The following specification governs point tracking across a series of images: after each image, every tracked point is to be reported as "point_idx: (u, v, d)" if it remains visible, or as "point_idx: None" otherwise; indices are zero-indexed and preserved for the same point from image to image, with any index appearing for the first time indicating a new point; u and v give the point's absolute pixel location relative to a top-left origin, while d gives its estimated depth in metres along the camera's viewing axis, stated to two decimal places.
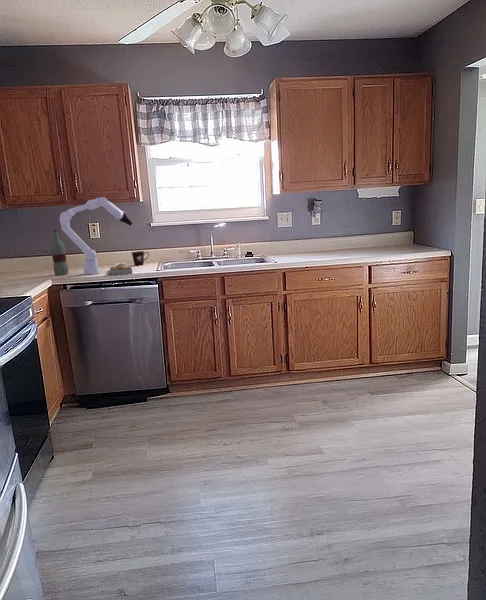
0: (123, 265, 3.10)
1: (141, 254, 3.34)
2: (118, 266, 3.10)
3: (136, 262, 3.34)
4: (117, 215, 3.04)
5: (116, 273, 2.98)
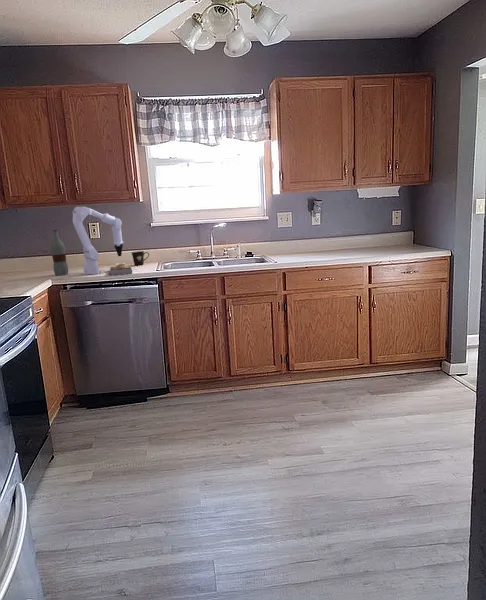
0: (123, 265, 3.10)
1: (141, 254, 3.34)
2: (118, 266, 3.10)
3: (136, 262, 3.34)
4: (116, 241, 3.16)
5: (116, 273, 2.98)
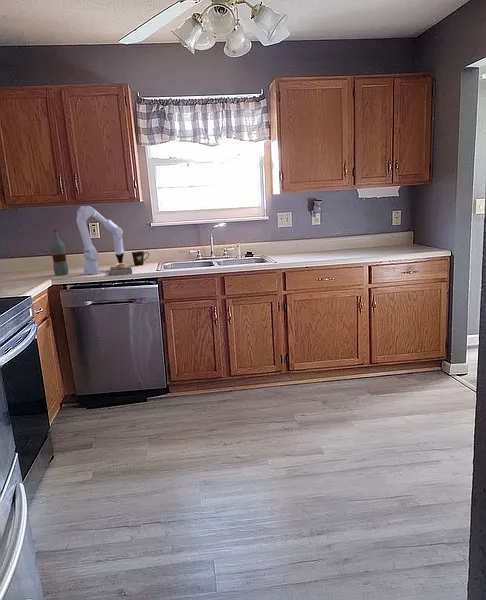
0: (123, 265, 3.10)
1: (141, 254, 3.34)
2: (118, 266, 3.10)
3: (136, 262, 3.34)
4: (117, 249, 3.17)
5: (116, 273, 2.98)
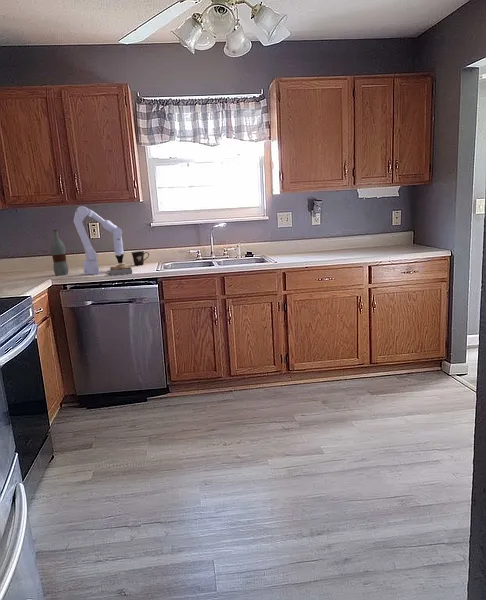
0: (123, 265, 3.10)
1: (141, 254, 3.34)
2: (118, 266, 3.10)
3: (136, 262, 3.34)
4: (117, 250, 3.12)
5: (116, 273, 2.98)
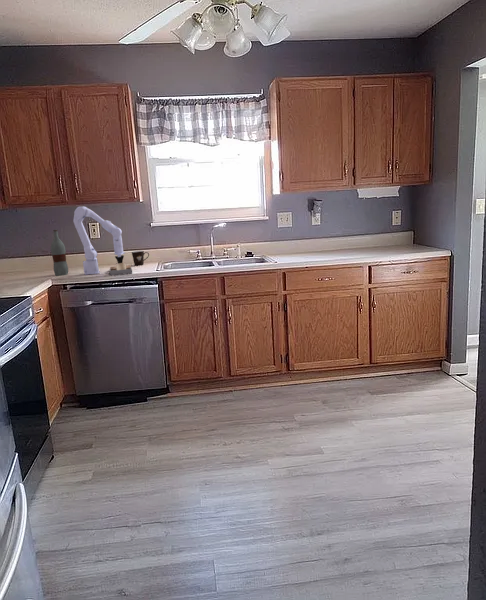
0: None
1: (141, 254, 3.34)
2: None
3: (136, 262, 3.34)
4: (117, 251, 3.05)
5: (116, 273, 2.98)
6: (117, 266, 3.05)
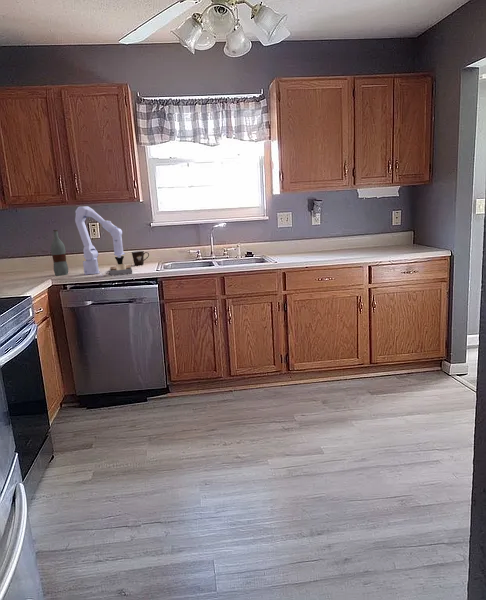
0: None
1: (141, 254, 3.34)
2: None
3: (136, 262, 3.34)
4: (117, 252, 3.01)
5: (116, 273, 2.98)
6: (117, 267, 3.01)
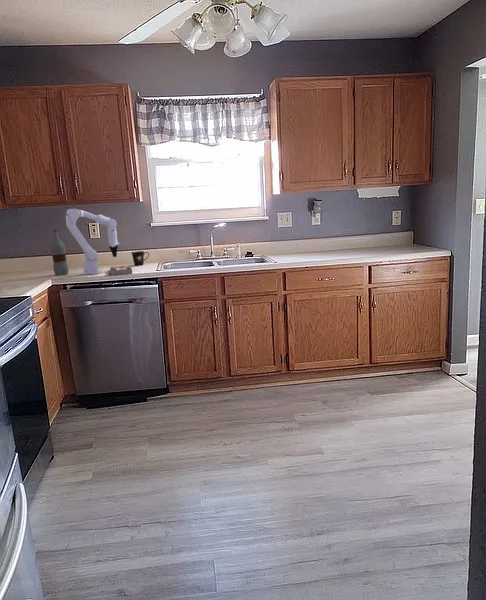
0: None
1: (141, 254, 3.34)
2: None
3: (136, 262, 3.34)
4: (111, 242, 3.11)
5: (116, 273, 2.98)
6: (117, 269, 3.04)
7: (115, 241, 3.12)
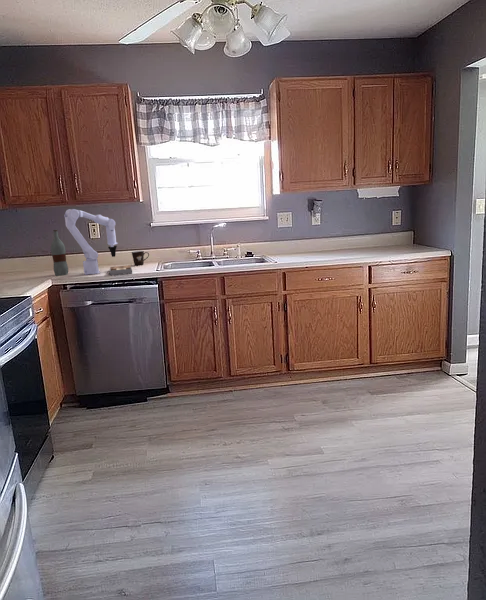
0: None
1: (141, 254, 3.34)
2: None
3: (136, 262, 3.34)
4: (110, 242, 3.11)
5: (116, 273, 2.98)
6: (117, 269, 3.04)
7: (114, 241, 3.12)
